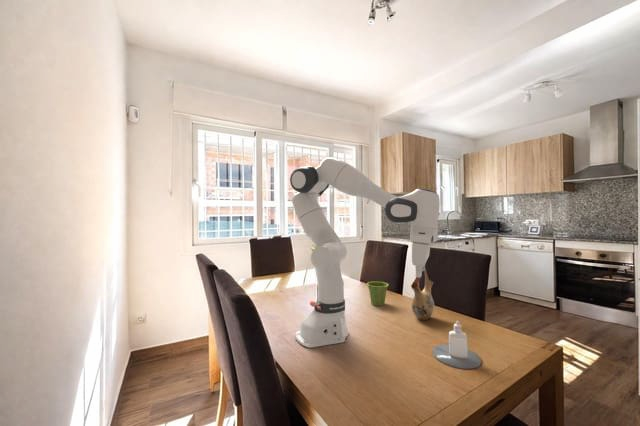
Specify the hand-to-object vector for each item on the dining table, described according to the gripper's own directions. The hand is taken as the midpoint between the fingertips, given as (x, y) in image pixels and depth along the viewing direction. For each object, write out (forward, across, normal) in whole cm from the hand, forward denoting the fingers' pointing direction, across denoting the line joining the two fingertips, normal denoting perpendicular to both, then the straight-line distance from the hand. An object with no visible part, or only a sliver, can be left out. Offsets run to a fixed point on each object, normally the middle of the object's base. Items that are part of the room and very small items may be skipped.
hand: (420, 273), depth 93 cm
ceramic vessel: (+30, -34, 0) cm, 46 cm away
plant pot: (+33, -46, -25) cm, 62 cm away
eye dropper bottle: (+27, -3, +14) cm, 31 cm away
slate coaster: (+28, -4, +14) cm, 31 cm away
